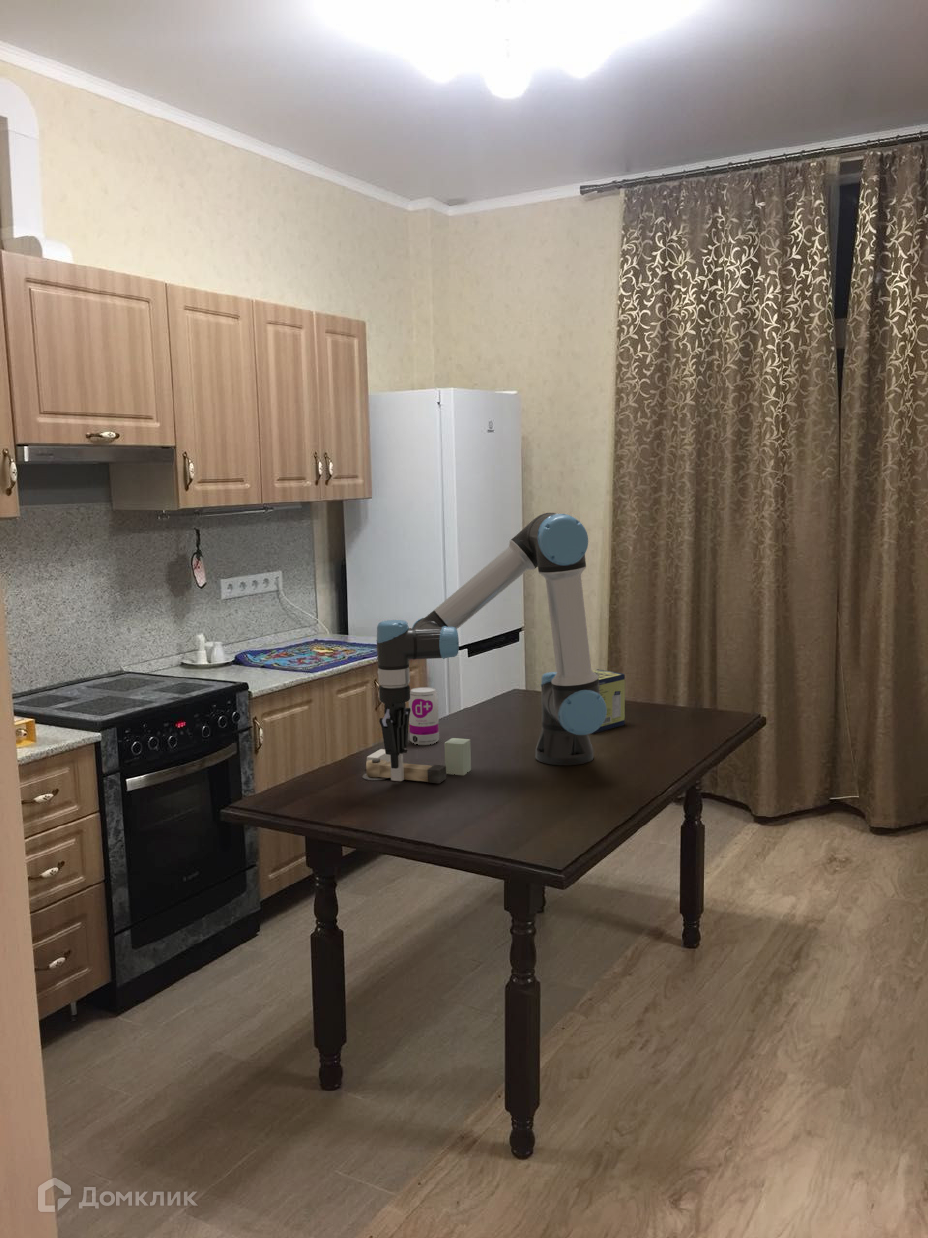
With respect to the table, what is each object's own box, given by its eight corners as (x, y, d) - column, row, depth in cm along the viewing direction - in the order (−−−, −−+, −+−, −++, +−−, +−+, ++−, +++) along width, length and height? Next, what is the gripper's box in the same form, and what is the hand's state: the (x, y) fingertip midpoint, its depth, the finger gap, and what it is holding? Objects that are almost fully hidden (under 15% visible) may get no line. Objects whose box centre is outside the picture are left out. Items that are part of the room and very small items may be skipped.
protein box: (563, 728, 305) (563, 676, 303) (598, 719, 316) (598, 668, 313) (591, 734, 298) (590, 681, 295) (625, 724, 308) (625, 673, 306)
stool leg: (363, 776, 260) (362, 761, 259) (372, 770, 265) (371, 756, 264) (438, 783, 252) (438, 768, 252) (446, 778, 257) (446, 763, 256)
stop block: (391, 761, 274) (390, 750, 274) (377, 770, 267) (377, 758, 266) (380, 760, 275) (380, 749, 275) (367, 769, 268) (366, 757, 268)
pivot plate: (395, 773, 263) (395, 772, 263) (383, 781, 257) (383, 780, 257) (370, 771, 266) (370, 770, 266) (357, 779, 260) (357, 778, 260)
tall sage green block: (471, 770, 265) (470, 739, 264) (463, 775, 261) (462, 744, 260) (452, 768, 267) (452, 737, 266) (445, 773, 263) (444, 742, 261)
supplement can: (435, 746, 289) (434, 693, 286) (406, 745, 290) (405, 692, 288) (442, 738, 296) (440, 687, 294) (413, 738, 298) (412, 686, 296)
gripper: (391, 678, 258) (395, 771, 261) (367, 689, 246) (371, 786, 249) (419, 680, 255) (422, 773, 258) (396, 691, 243) (400, 789, 246)
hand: (397, 779), depth 254 cm, fingers closed
